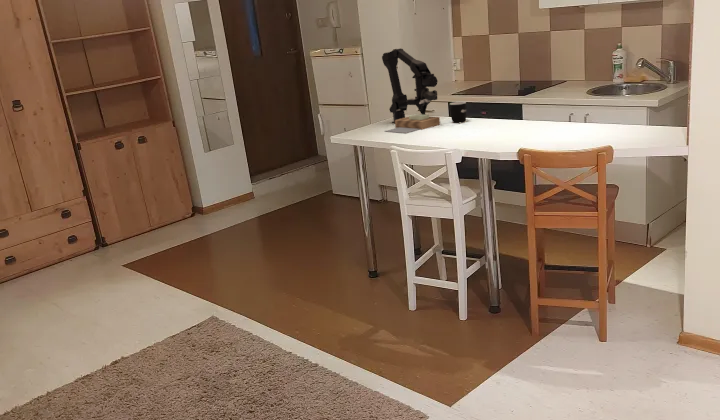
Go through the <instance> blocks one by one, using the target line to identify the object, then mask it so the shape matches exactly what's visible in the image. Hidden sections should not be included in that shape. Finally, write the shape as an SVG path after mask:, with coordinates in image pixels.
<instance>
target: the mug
mask: <svg viewBox="0 0 720 420" xmlns="http://www.w3.org/2000/svg"><path fill="white" fill-rule="evenodd" d="M449 111H450V117H451V121H452V122H453V123H454V124H460V123H459V122H461V123H464V121H466V118H467V102H466V101H456V102H450V103H449Z"/></svg>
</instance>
